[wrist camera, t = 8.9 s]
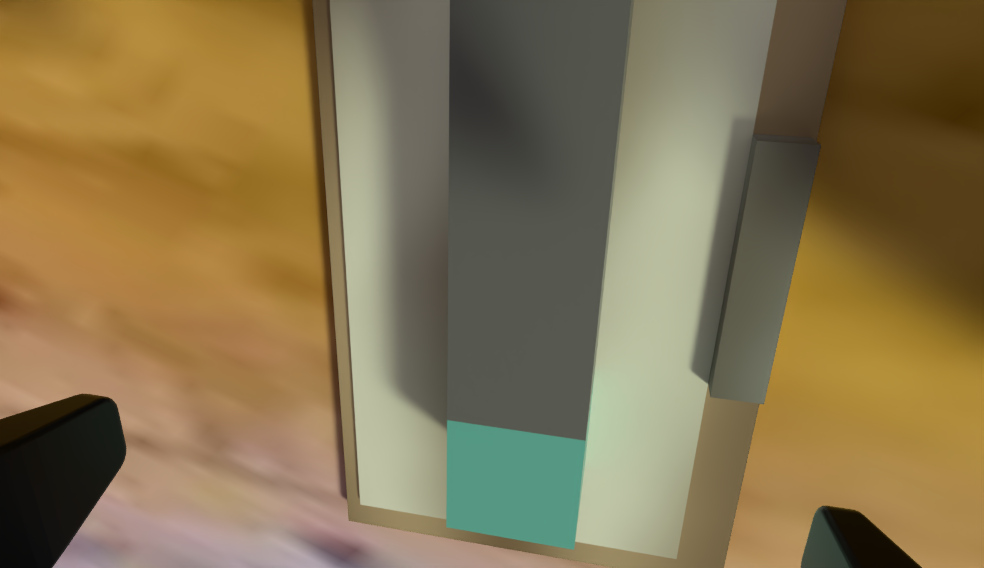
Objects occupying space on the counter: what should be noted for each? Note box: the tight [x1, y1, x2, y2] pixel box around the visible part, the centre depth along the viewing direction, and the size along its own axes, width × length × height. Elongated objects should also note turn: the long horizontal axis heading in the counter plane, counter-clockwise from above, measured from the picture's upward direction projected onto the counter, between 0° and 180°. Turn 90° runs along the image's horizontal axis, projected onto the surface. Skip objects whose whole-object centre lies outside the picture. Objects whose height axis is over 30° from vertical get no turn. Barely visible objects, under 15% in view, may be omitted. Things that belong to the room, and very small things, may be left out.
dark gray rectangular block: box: [446, 0, 634, 550], centre depth 15 cm, size 3×12×3 cm, turn 179°
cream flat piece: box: [312, 0, 847, 568], centre depth 16 cm, size 11×19×1 cm, turn 179°
